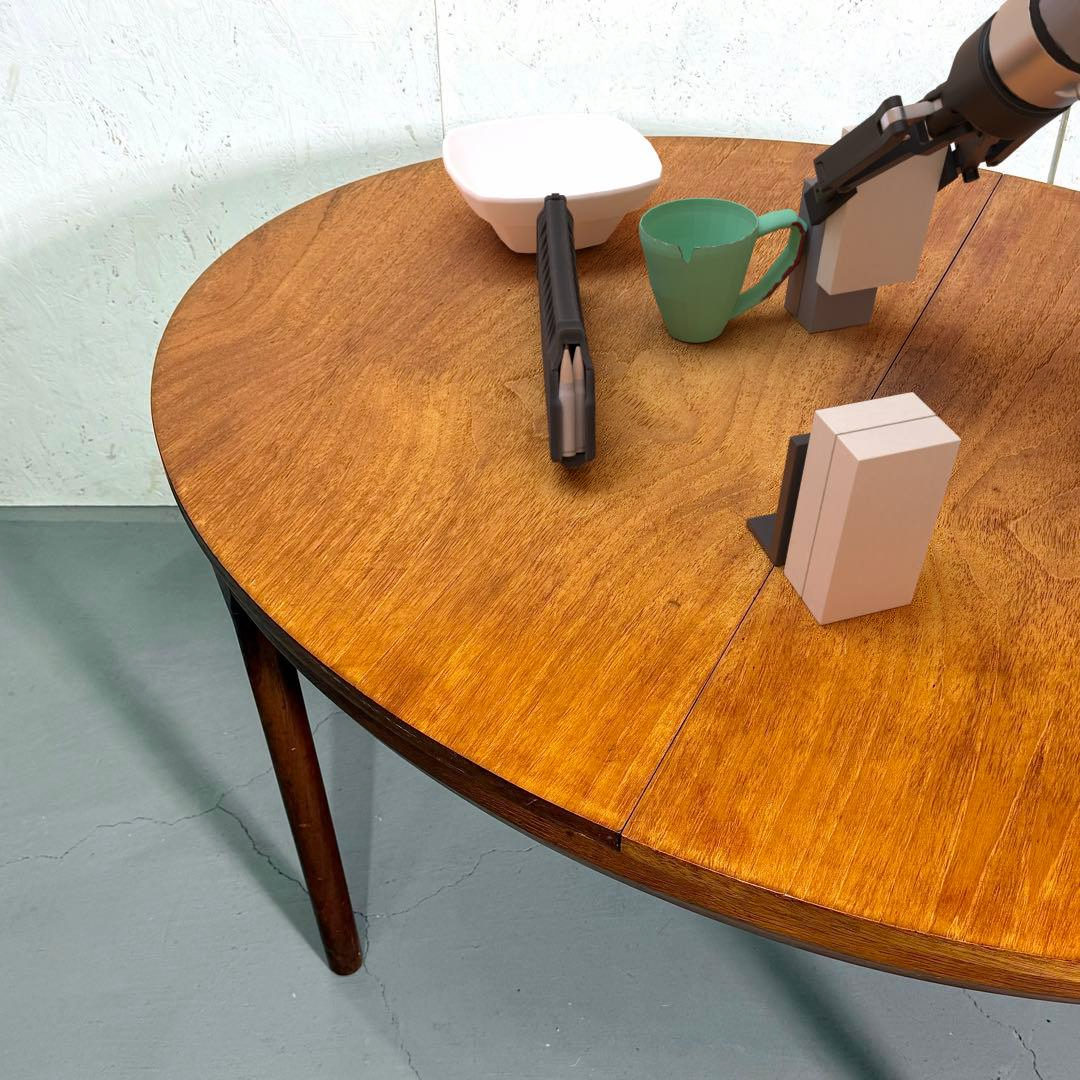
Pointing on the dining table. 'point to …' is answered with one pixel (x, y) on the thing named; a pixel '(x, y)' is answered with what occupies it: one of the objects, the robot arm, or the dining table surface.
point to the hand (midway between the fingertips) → (859, 202)
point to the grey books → (810, 297)
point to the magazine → (564, 339)
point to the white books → (859, 505)
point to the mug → (711, 261)
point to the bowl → (552, 173)
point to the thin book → (881, 227)
